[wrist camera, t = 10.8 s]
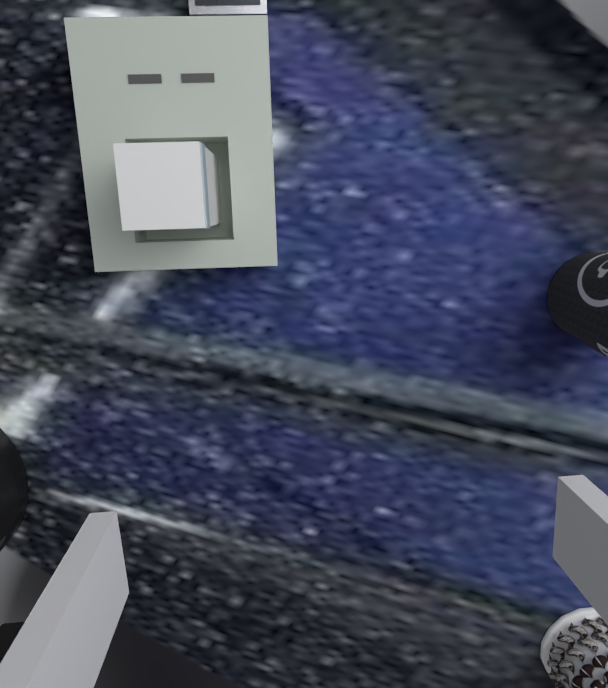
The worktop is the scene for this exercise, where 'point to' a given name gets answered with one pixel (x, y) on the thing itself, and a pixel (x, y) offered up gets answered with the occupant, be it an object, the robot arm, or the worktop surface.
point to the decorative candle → (577, 650)
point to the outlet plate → (177, 130)
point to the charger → (167, 185)
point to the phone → (227, 7)
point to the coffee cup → (582, 299)
